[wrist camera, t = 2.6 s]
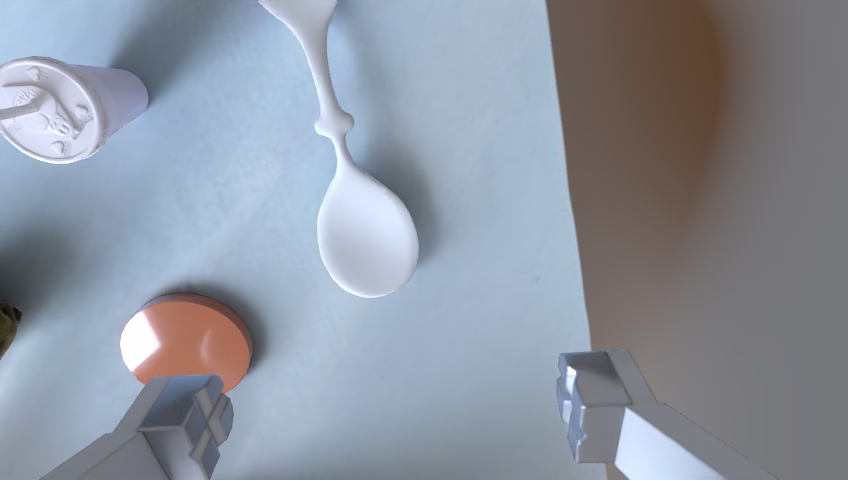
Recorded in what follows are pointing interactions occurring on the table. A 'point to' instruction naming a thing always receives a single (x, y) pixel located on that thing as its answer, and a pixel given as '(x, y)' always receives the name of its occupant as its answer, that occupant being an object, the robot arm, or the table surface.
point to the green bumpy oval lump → (8, 325)
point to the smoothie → (65, 107)
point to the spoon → (350, 180)
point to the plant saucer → (187, 340)
